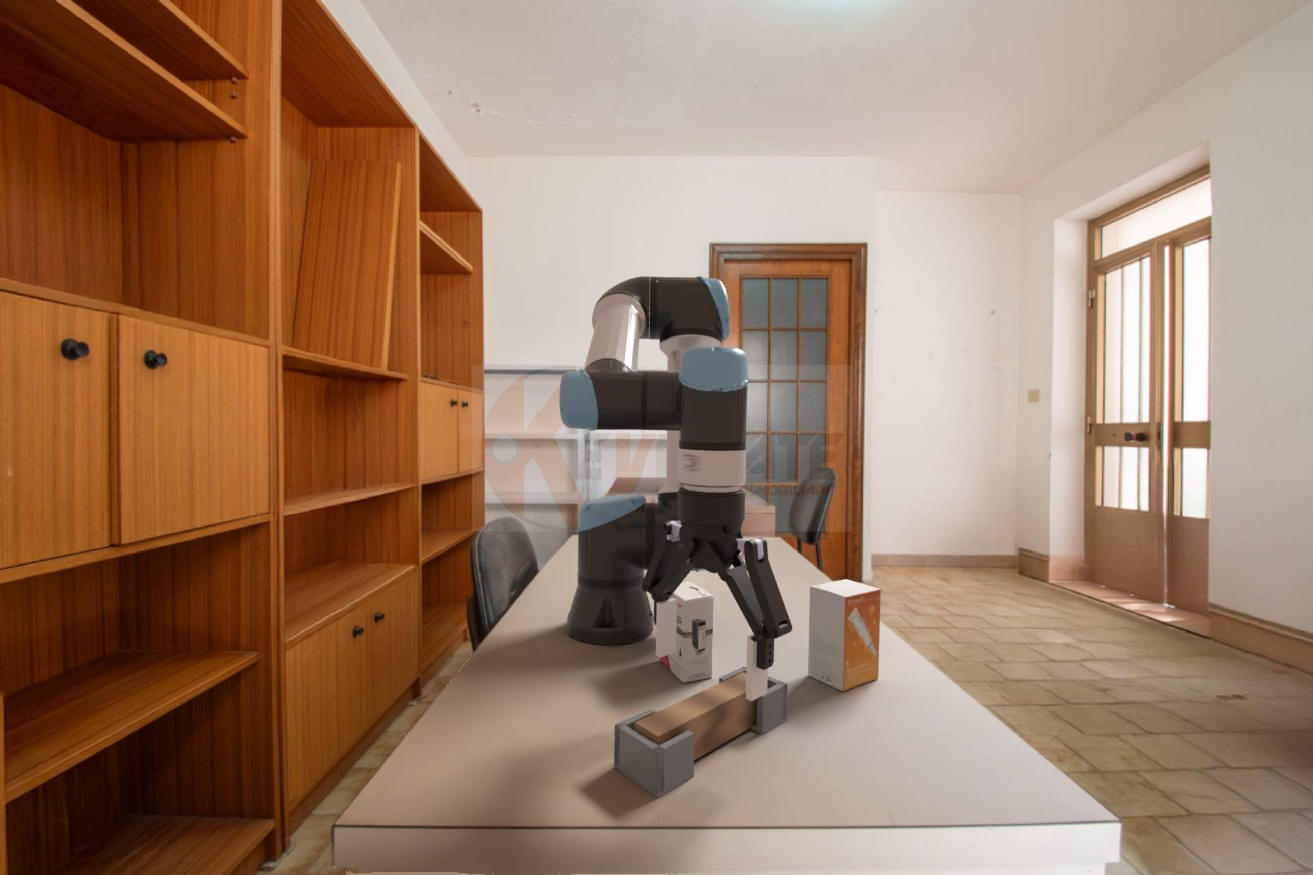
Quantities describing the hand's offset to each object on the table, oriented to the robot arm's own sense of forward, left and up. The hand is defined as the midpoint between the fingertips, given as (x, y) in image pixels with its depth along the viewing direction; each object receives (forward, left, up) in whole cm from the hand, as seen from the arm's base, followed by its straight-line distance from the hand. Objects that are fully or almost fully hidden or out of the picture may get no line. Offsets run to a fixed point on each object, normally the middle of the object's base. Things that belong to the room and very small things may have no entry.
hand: (707, 673), depth 63 cm
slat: (+1, -1, -7) cm, 7 cm away
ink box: (-15, +12, -8) cm, 20 cm away
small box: (+2, +27, -8) cm, 28 cm away
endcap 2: (0, +8, -7) cm, 11 cm away
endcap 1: (0, -9, -7) cm, 12 cm away
